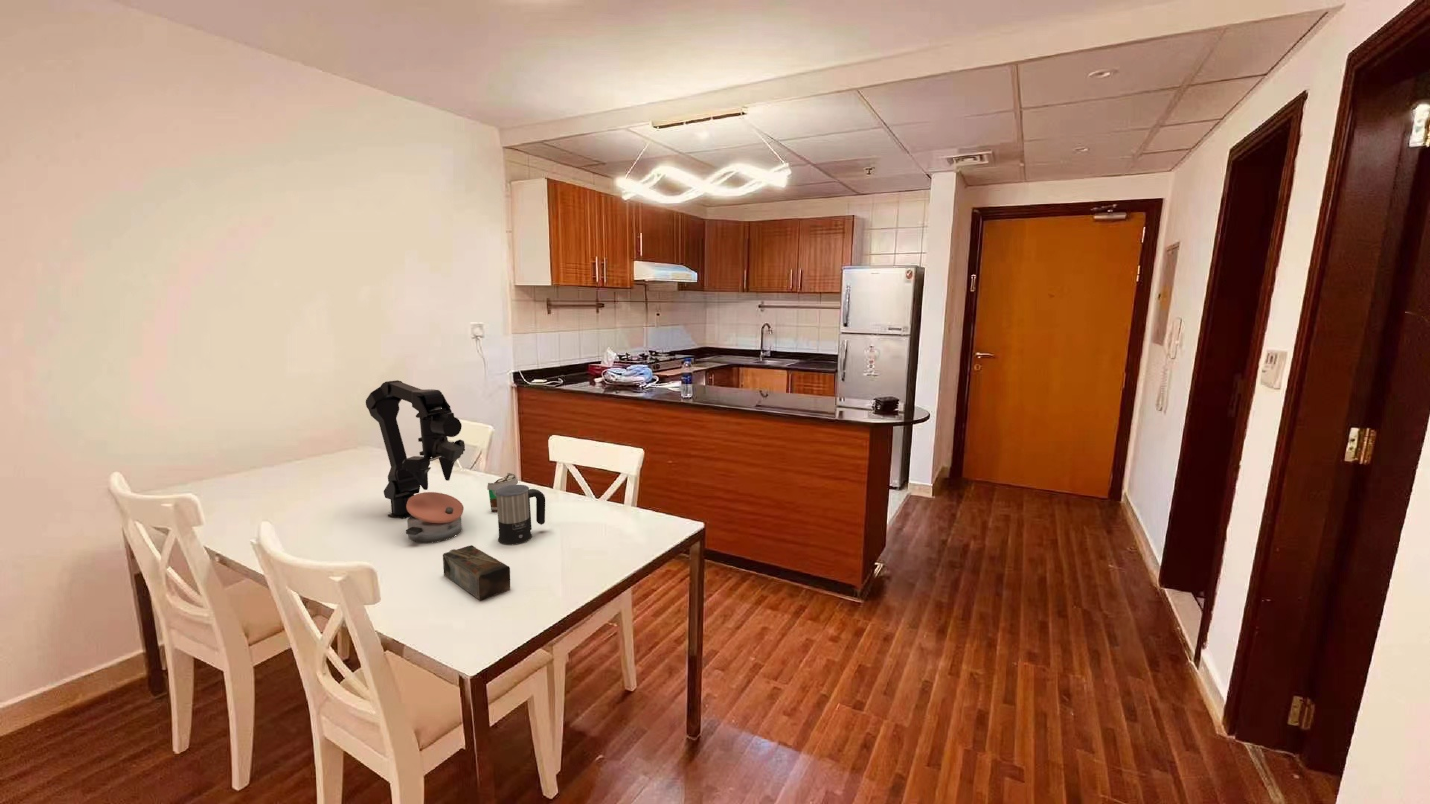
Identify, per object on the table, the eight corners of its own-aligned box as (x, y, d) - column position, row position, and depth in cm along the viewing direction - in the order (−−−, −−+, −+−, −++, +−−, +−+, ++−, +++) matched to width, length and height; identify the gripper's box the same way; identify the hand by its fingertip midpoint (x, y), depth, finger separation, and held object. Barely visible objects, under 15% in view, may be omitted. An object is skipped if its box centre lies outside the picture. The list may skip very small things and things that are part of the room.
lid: (393, 506, 158) (395, 500, 158) (432, 489, 173) (433, 484, 172) (438, 529, 156) (440, 523, 155) (473, 510, 170) (475, 504, 170)
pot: (390, 543, 158) (388, 526, 157) (437, 518, 176) (436, 503, 175) (433, 549, 155) (432, 531, 154) (477, 523, 173) (476, 508, 172)
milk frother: (511, 548, 156) (509, 497, 154) (476, 535, 165) (473, 486, 162) (551, 531, 168) (549, 483, 166) (516, 520, 176) (514, 474, 174)
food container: (506, 515, 180) (504, 485, 179) (488, 513, 181) (486, 483, 180) (526, 502, 192) (524, 473, 190) (509, 500, 193) (508, 472, 192)
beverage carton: (473, 565, 147) (472, 541, 146) (512, 590, 134) (511, 564, 133) (442, 575, 141) (441, 550, 140) (480, 603, 128) (478, 576, 127)
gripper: (433, 441, 154) (438, 496, 157) (476, 427, 172) (480, 477, 175) (398, 440, 157) (404, 494, 159) (445, 426, 175) (449, 475, 177)
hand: (436, 484), depth 168 cm, fingers open, 9 cm apart
